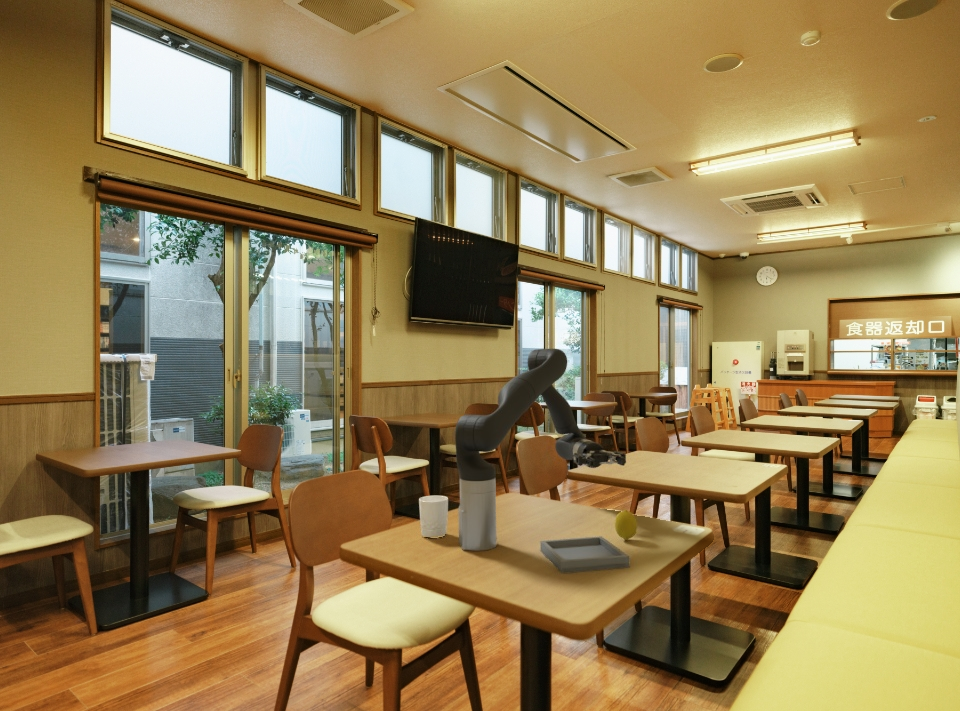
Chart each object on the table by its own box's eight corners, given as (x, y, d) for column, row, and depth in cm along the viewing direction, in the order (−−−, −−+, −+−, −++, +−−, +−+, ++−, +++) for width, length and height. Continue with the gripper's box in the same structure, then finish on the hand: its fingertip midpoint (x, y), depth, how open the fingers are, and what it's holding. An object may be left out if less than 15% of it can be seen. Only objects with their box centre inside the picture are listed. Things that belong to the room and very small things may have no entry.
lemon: (613, 542, 152) (613, 511, 152) (616, 536, 157) (616, 506, 157) (636, 544, 150) (635, 512, 150) (638, 538, 155) (637, 507, 156)
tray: (561, 573, 130) (561, 561, 131) (540, 551, 146) (540, 540, 146) (629, 567, 134) (629, 556, 134) (601, 546, 149) (601, 536, 149)
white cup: (435, 541, 156) (434, 503, 156) (413, 536, 160) (412, 499, 161) (454, 534, 162) (453, 497, 162) (432, 529, 167) (432, 494, 167)
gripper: (565, 441, 179) (584, 450, 163) (610, 439, 181) (632, 447, 165) (566, 466, 179) (584, 477, 163) (611, 464, 182) (633, 474, 166)
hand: (608, 462), depth 164 cm, fingers open, 8 cm apart
